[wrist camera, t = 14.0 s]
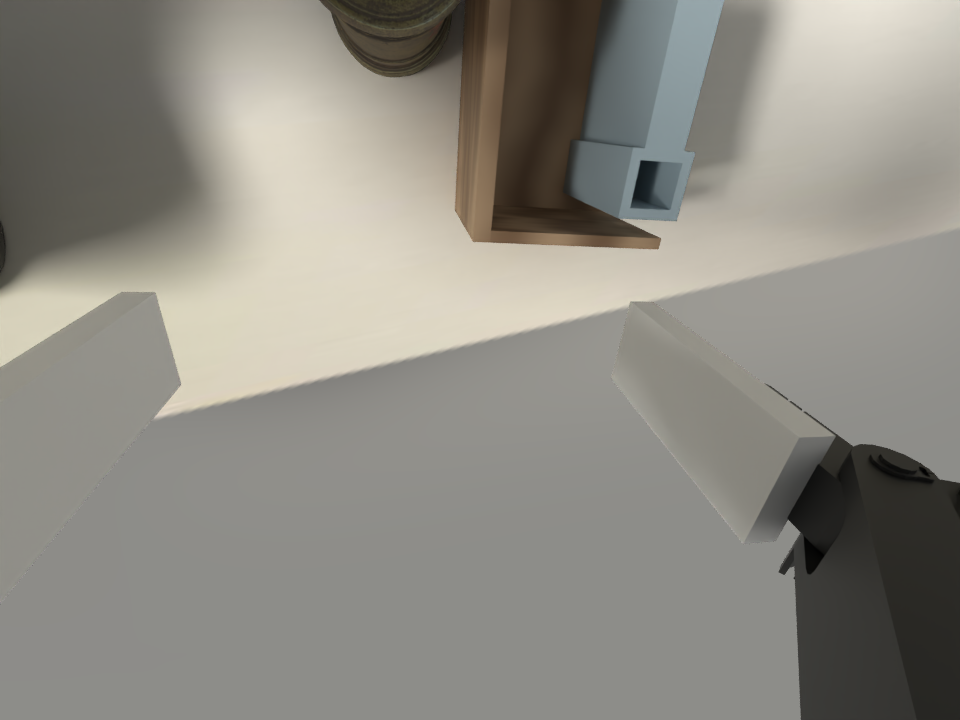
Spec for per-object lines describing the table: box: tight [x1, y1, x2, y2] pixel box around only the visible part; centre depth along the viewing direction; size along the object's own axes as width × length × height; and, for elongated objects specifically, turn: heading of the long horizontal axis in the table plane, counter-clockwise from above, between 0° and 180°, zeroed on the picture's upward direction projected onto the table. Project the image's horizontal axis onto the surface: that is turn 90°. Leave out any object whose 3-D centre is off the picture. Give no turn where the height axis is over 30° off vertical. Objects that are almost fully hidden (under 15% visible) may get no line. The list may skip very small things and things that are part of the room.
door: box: [563, 0, 724, 221], centre depth 32 cm, size 5×14×12 cm, turn 176°
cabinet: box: [455, 0, 661, 249], centre depth 32 cm, size 14×19×12 cm
